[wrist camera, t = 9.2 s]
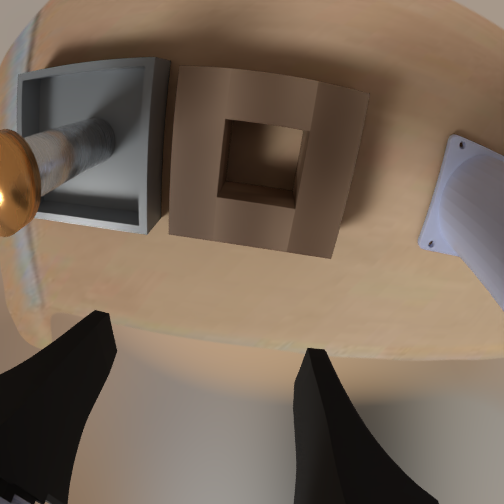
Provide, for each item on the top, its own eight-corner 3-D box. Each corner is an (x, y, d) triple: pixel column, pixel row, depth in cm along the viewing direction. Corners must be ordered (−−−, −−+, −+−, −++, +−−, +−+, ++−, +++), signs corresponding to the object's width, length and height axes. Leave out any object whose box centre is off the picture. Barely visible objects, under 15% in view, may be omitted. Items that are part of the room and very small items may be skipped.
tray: (171, 60, 15) (155, 57, 13) (161, 218, 20) (147, 234, 17) (41, 72, 15) (18, 74, 13) (44, 203, 20) (25, 216, 17)
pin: (127, 106, 16) (20, 130, 8) (125, 176, 18) (33, 243, 10) (69, 108, 16) (-39, 138, 8) (70, 172, 18) (-25, 230, 10)
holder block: (354, 93, 15) (369, 93, 12) (324, 235, 19) (331, 258, 17) (195, 69, 15) (179, 65, 12) (183, 213, 19) (168, 234, 17)
